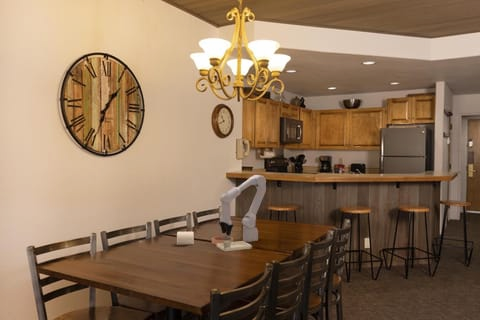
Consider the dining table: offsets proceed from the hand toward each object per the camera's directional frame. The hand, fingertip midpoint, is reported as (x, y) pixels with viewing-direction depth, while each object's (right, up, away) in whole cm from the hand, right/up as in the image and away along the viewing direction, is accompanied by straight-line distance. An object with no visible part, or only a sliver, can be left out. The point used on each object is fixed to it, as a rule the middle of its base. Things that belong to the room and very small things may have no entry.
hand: (226, 234), depth 246 cm
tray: (+5, -6, -13) cm, 16 cm away
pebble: (+1, -5, -15) cm, 16 cm away
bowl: (-2, -6, -1) cm, 6 cm away
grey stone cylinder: (0, -5, 0) cm, 5 cm away
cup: (-20, -3, -2) cm, 21 cm away
